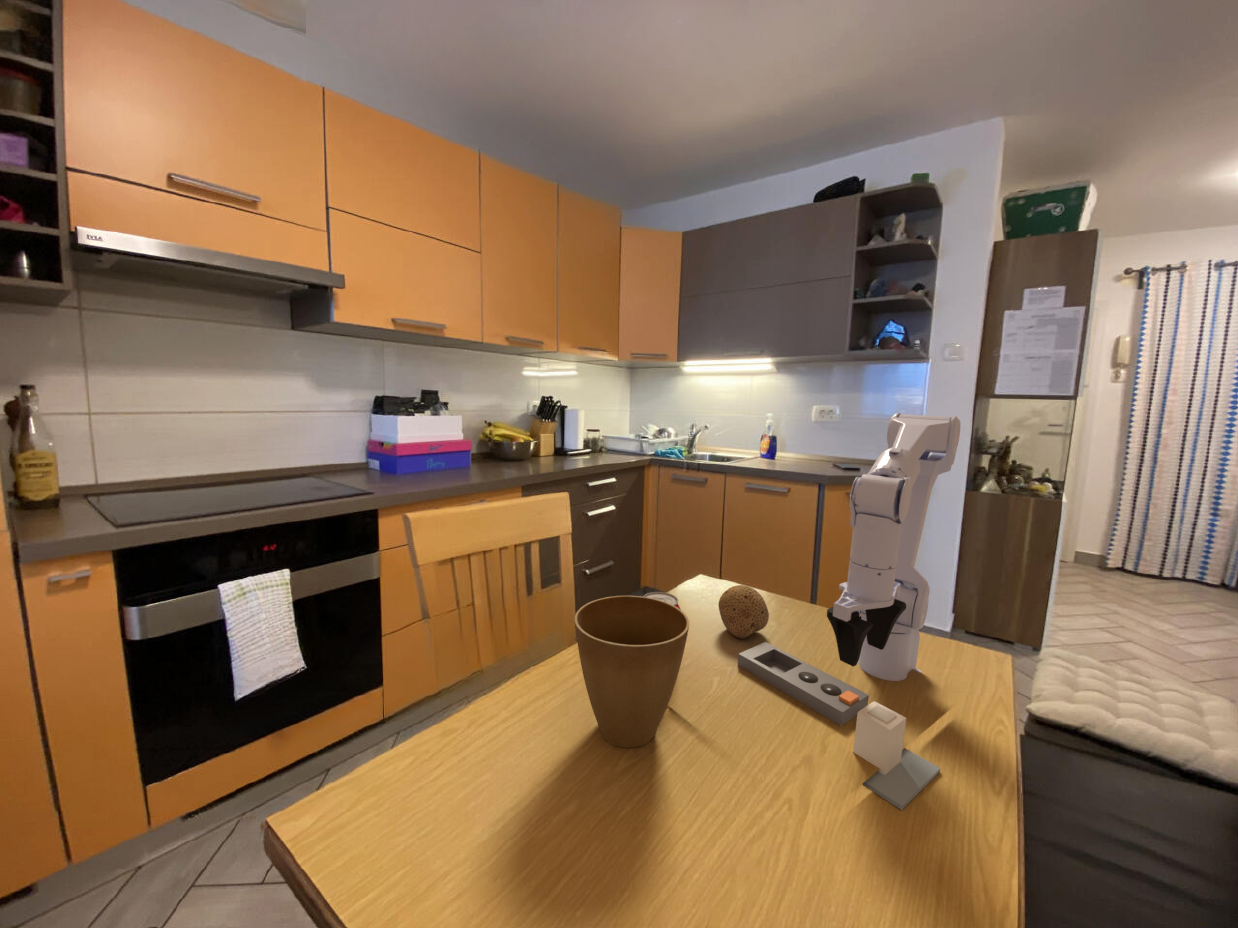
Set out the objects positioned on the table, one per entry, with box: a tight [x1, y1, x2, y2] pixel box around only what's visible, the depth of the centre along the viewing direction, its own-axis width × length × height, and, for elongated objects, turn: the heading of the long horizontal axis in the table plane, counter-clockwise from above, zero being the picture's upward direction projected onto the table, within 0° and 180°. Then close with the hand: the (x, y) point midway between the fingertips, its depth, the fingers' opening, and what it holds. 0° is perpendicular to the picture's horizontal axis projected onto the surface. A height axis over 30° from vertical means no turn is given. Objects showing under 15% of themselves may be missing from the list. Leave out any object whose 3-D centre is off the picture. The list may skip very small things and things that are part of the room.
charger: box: [852, 700, 907, 775], centre depth 63 cm, size 4×4×6 cm
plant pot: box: [574, 595, 690, 748], centre depth 67 cm, size 15×15×16 cm
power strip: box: [737, 641, 870, 727], centre depth 78 cm, size 7×18×4 cm, turn 37°
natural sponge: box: [718, 584, 770, 639], centre depth 93 cm, size 9×9×10 cm
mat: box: [862, 747, 941, 811], centre depth 63 cm, size 10×10×1 cm
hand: (862, 654), depth 71 cm, fingers open, 7 cm apart
